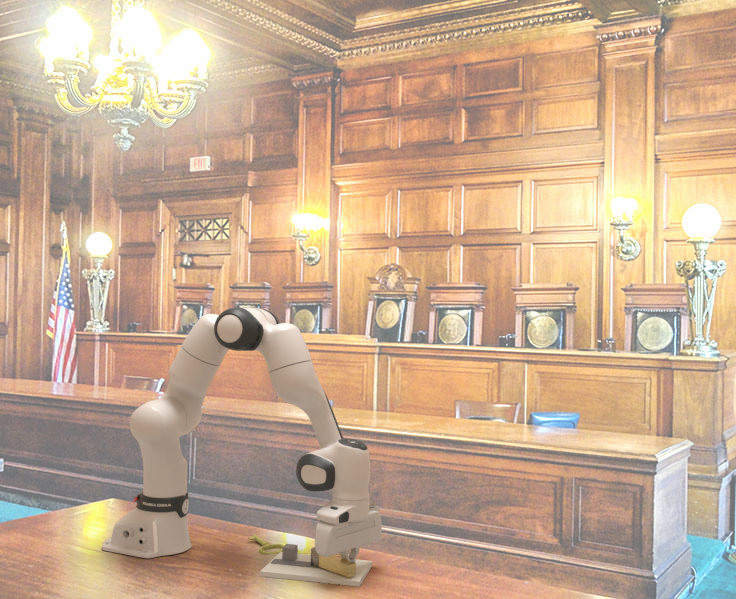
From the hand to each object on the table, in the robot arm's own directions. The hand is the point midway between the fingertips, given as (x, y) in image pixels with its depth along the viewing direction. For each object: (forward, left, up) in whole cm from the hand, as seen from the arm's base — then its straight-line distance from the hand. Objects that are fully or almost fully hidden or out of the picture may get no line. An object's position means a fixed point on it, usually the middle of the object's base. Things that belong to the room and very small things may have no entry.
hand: (349, 566), depth 189 cm
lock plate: (-8, +2, -2) cm, 9 cm away
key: (-26, +15, -3) cm, 30 cm away
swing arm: (-4, -1, -1) cm, 4 cm away
